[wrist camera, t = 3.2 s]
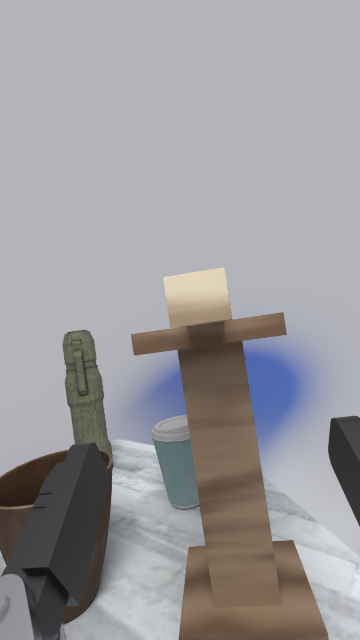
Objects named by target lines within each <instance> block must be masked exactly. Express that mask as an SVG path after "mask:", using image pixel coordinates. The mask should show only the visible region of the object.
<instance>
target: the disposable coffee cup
mask: <svg viewBox="0 0 360 640" xmlns="http://www.w3.org/2000/svg"><path fill="white" fill-rule="evenodd" d="M151 436H152V438H153V441H154V445H155V449H156V453H157V456H158V460H159V464H160V467H161V471H162V475H163V478H164V482H165V486H166V490H167V493H168V497H169V499H170V501H171V503H172V505H173V506H174V507H176V508H179V509H190V508H193V507H196V506H198V505H199V504H200V503H199V496H198V489H197V482H196V475H195V468H194V461H193V454H192V447H191V440H190V433H189V426H188V419H187V415H181V416H176V417H172V418H168V419H165V420H163V421H161V422H158V423H157V424H156V425H155V426H154V427H153V429H152V430H151Z"/></svg>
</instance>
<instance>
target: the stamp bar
mask: <svg viewBox="0 0 360 640" xmlns="http://www.w3.org/2000/svg"><path fill="white" fill-rule="evenodd" d="M163 279H164V286H165V293H166V300H167V307H168V314H169V320H170V327H171V328H173V327H186V326H193V325H199V324H206V323H213V322H220V321H227V320H232V315H231V309H230V302H229V295H228V288H227V283H226V276H225V270H224V268H217V269H211V270H205V271H199V272H193V273H187V274H181V275H175V276H168V277H164V278H163Z"/></svg>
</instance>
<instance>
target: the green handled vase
mask: <svg viewBox="0 0 360 640" xmlns="http://www.w3.org/2000/svg"><path fill="white" fill-rule="evenodd" d="M63 352H64V360H65V364H66V368H67V370H66V380H65V388H66V395H67V403H68V405H69V407H70V410H71V417H72V424H73V433H74V440H75V444H83V443H92V442H94V443H96V445H97V447H98V449H101V450H104V451H107V452H108V453H109V454H110V455H111V457H112V449H111V444H110V442H109V440H108V436H107V429H106V421H105V414H104V407H103V398H104V392H103V385H102V377H101V375H100V373H99V371H98V366H97V365H96V352H95V344H94V340H93V337H92V335H91V334H90V331H87V330H81V331H73V332H68V333H67V334H65V336H64V341H63ZM112 468H113V463H112Z"/></svg>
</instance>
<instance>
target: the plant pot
mask: <svg viewBox="0 0 360 640" xmlns="http://www.w3.org/2000/svg"><path fill="white" fill-rule="evenodd" d="M68 451H69V450H65V451H60V452H56V453H52V454H49V455H46V456H42V457H39V458H36V459H34V460H31V461H29V462H26V463H24V464H22V465H20V466H18V467H16V468H14V469H13V470H10V471H9V472H7V473H5V474H4V475H2V476H1V477H0V551H1V553H2V556H3V558H4V560H5V563H6V565H7V564H8V562H9V559H10V557H11V555H12V553H13V550H14V548H15V546H16V544H17V541H18V539H19V537H20V535H21V532H22V530H23V528H24V526H25V523H26V521H27V519H28V517H29V514H30V512H31V511H32V510H33V505H34V503H35V501H36V498H37V497H38V496H39V492H40V489H41V487H42V485H43V483H44V480H45V478H46V476H47V475H48V474H49V473H50V471H51V470H52V469H53V468H54V467H55V465H56V464H57V463H58V462H64V461H65V458H66V456H67V453H68ZM99 451H100V453H101V455H102V457H103V460H104V462H105V464H106V466H107V468H108V472H109V486H108V490H107V495H106V499H105V503H104V507H103V511H102V515H101V519H100V524H99V528H98V532H97V536H96V540H95V544H94V549H93V553H92V557H91V561H90V565H89V569H88V573H87V578H86V582H85V586H84V590H83V594H82V598H81V603H80V606H66V609H65V613H64V617H63V620H62V624H65V623H67V622H69V621H71V620H73V619H75V618H76V617H78V616H79V615H80V614H82V613H83V612H84V611H85V610H86V609H87V608H88V607H89V605H90V604H91V603H92V601H93V599H94V598H95V595H96V593H97V589H98V585H99V580H100V576H101V571H102V566H103V561H104V555H105V549H106V543H107V536H108V528H109V519H110V508H111V493H112V457H111V455H110V454H109V453H108V452H107V451H104V450H101V449H99Z"/></svg>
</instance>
